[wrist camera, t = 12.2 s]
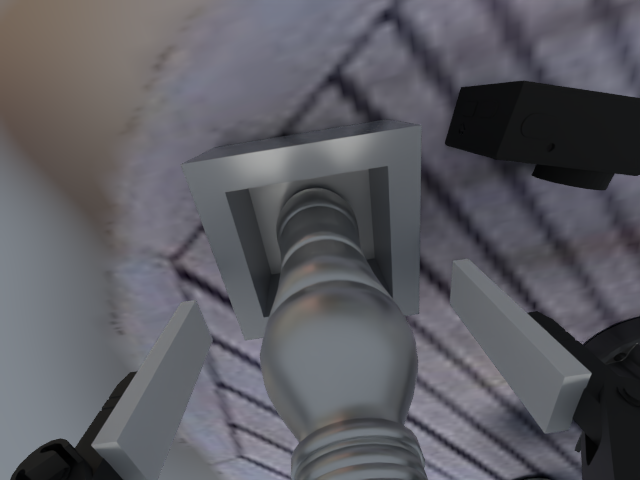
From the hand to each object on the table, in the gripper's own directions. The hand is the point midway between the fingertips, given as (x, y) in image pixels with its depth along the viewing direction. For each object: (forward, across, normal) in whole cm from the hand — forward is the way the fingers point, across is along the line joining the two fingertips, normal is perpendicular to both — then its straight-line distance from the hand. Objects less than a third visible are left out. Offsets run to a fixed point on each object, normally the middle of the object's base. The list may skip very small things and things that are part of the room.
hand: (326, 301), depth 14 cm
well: (+12, 0, 0) cm, 12 cm away
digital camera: (+13, -17, -5) cm, 22 cm away
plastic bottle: (+11, 0, 0) cm, 11 cm away
